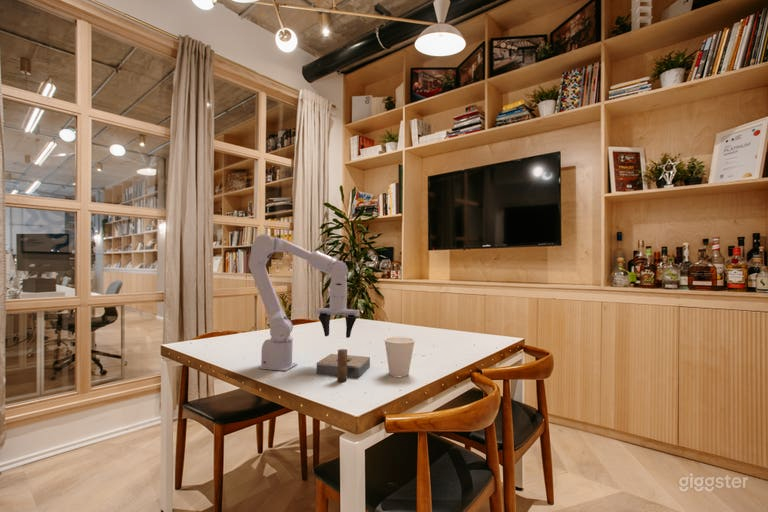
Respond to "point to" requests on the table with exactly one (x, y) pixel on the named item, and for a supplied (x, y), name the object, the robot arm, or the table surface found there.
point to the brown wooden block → (342, 365)
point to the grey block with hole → (354, 365)
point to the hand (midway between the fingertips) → (337, 336)
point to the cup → (399, 354)
